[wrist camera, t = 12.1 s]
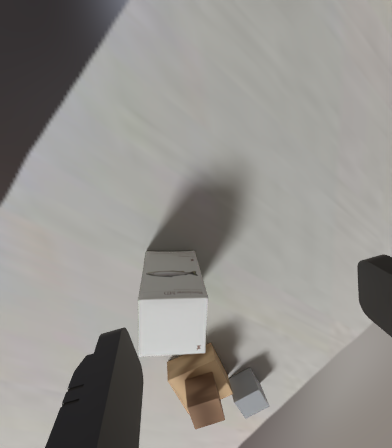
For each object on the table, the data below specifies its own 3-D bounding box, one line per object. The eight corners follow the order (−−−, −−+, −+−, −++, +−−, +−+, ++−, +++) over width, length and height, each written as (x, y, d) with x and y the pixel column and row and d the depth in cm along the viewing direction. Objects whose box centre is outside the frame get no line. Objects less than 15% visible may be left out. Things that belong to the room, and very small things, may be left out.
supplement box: (195, 249, 38) (211, 296, 26) (193, 293, 41) (206, 356, 29) (144, 249, 37) (136, 298, 25) (144, 294, 40) (137, 360, 28)
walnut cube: (212, 371, 41) (218, 398, 37) (218, 391, 42) (225, 419, 38) (184, 380, 41) (187, 407, 36) (191, 400, 42) (195, 429, 38)
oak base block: (210, 341, 44) (215, 359, 40) (227, 373, 47) (233, 393, 43) (167, 360, 44) (167, 380, 40) (186, 391, 47) (188, 413, 43)
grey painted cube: (249, 366, 46) (258, 389, 42) (259, 382, 48) (269, 406, 44) (227, 378, 47) (234, 402, 42) (238, 394, 48) (245, 418, 44)
